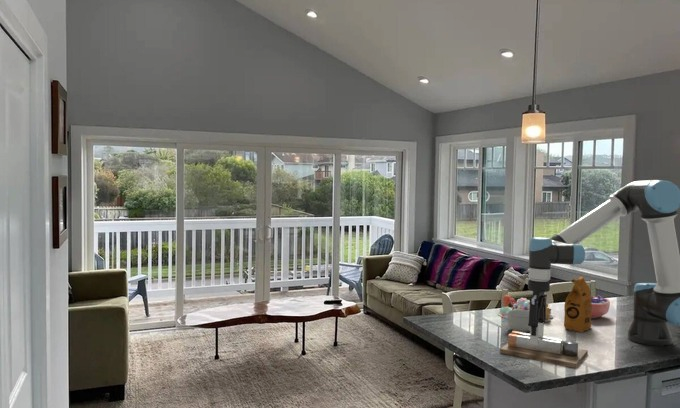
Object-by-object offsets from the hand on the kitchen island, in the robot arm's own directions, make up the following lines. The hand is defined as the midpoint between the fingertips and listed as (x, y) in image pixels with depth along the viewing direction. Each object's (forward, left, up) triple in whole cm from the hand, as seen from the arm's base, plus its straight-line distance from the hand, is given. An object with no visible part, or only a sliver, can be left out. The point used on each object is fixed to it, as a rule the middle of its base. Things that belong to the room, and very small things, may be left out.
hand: (536, 342), depth 188 cm
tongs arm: (0, +2, -2) cm, 3 cm away
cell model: (-4, -70, -4) cm, 70 cm away
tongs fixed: (-2, -1, -2) cm, 3 cm away
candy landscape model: (+20, -52, -4) cm, 56 cm away
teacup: (+15, -27, -4) cm, 31 cm away
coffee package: (-4, -45, -4) cm, 45 cm away
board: (-2, -1, -4) cm, 5 cm away
